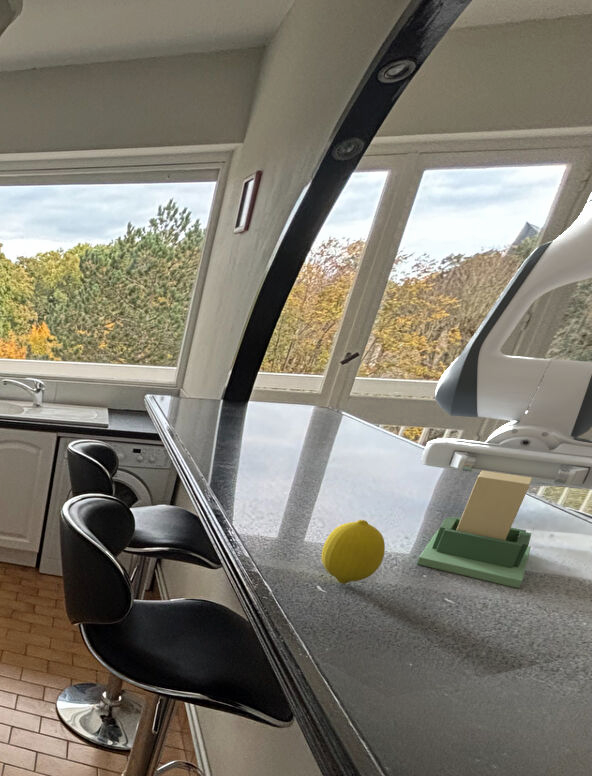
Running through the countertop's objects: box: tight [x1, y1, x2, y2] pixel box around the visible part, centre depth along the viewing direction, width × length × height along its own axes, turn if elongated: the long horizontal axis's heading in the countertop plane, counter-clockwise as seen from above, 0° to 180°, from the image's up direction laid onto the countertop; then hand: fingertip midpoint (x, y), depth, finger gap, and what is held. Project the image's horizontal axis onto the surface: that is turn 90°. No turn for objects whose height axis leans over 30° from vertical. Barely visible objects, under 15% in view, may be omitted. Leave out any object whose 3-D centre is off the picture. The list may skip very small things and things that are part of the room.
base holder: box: [416, 516, 532, 589], centre depth 76 cm, size 16×9×4 cm, turn 131°
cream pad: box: [456, 471, 532, 540], centre depth 75 cm, size 4×4×10 cm
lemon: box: [321, 519, 386, 585], centre depth 68 cm, size 6×6×8 cm
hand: (513, 471), depth 80 cm, fingers open, 8 cm apart
